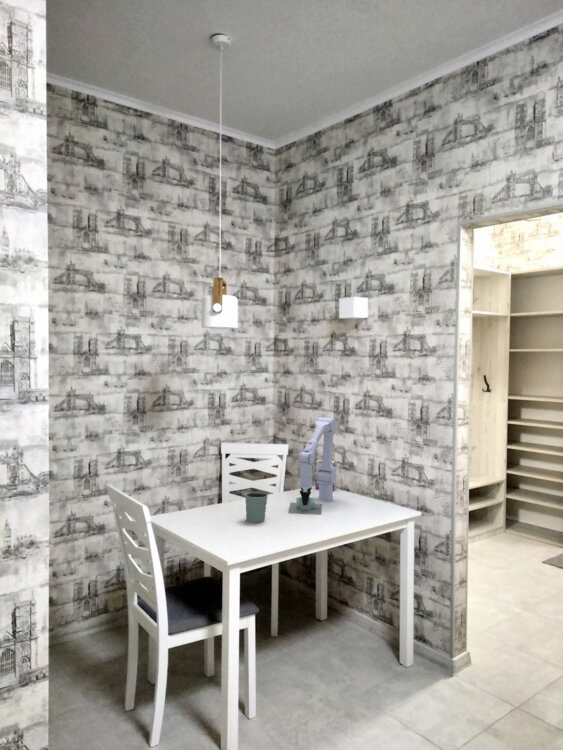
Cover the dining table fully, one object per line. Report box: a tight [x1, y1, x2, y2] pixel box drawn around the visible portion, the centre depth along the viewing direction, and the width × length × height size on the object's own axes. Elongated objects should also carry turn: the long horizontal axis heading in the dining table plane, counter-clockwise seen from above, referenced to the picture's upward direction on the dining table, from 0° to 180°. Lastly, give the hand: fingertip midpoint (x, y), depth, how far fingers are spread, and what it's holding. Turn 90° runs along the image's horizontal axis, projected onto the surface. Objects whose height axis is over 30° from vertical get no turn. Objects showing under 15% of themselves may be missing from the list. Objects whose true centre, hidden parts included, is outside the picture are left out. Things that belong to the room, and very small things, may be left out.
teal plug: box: [295, 496, 320, 510], centre depth 287 cm, size 11×4×5 cm, turn 86°
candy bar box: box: [315, 459, 337, 492], centre depth 330 cm, size 11×5×16 cm, turn 72°
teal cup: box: [245, 491, 268, 524], centre depth 266 cm, size 10×10×12 cm
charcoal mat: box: [287, 502, 323, 516], centre depth 287 cm, size 20×16×1 cm
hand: (305, 503), depth 287 cm, fingers open, 7 cm apart
